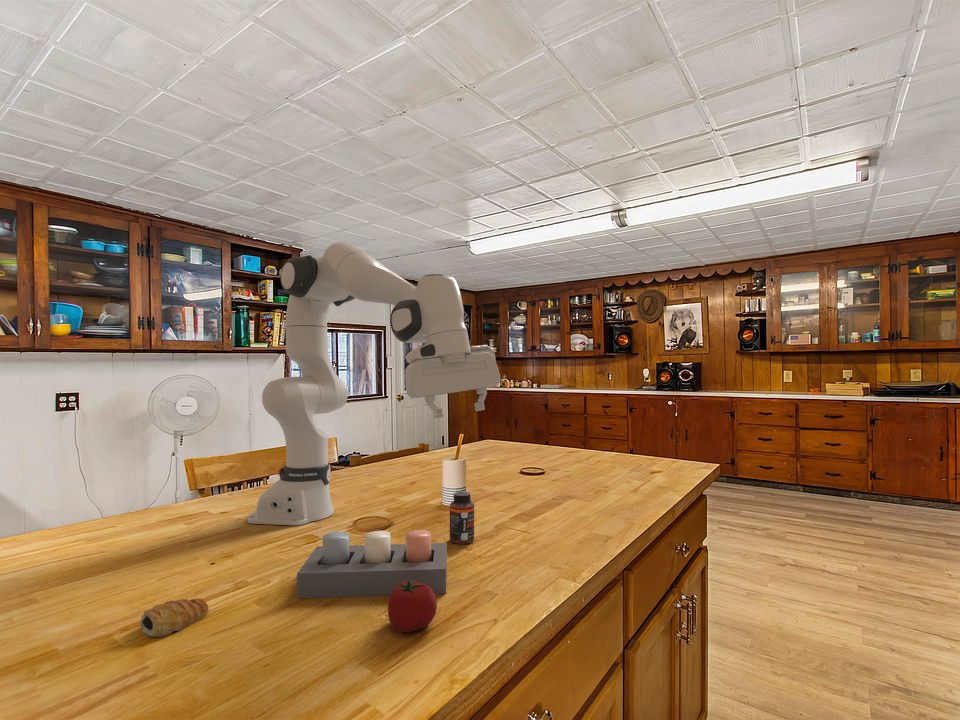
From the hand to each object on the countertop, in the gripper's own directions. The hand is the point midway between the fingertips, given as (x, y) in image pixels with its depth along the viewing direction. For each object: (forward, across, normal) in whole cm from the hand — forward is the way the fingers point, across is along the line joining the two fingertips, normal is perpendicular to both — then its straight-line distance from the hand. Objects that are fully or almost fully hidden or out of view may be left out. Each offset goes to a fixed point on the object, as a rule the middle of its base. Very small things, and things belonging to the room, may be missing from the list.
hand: (459, 414), depth 100 cm
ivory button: (+26, +20, -7) cm, 34 cm away
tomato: (+32, +19, +11) cm, 39 cm away
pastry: (+26, +54, -6) cm, 60 cm away
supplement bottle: (+30, -3, -20) cm, 36 cm away
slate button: (+25, +27, -10) cm, 38 cm away
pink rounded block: (+28, +12, -4) cm, 31 cm away
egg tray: (+29, +20, -8) cm, 36 cm away
